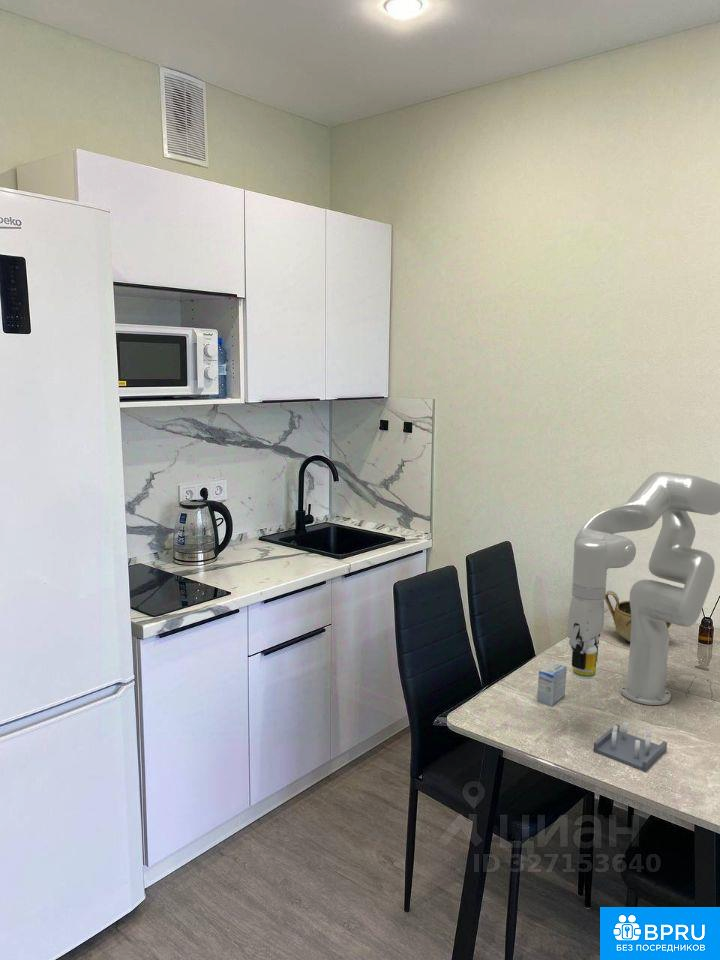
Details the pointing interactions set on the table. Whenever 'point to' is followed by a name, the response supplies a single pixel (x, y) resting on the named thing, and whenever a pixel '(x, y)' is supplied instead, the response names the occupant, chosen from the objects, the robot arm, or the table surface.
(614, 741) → the tray
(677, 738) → the table surface
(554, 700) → the medicine box
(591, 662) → the supplement bottle
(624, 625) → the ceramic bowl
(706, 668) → the table surface
